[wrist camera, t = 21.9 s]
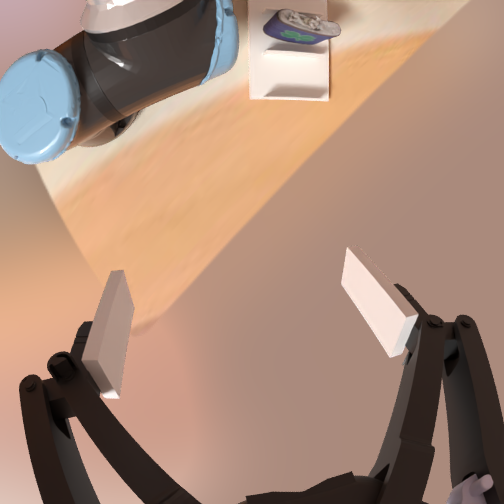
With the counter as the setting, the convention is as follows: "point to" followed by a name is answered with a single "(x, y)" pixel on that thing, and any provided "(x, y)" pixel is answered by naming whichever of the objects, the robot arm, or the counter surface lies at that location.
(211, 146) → the counter surface
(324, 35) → the flask
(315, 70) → the rack
